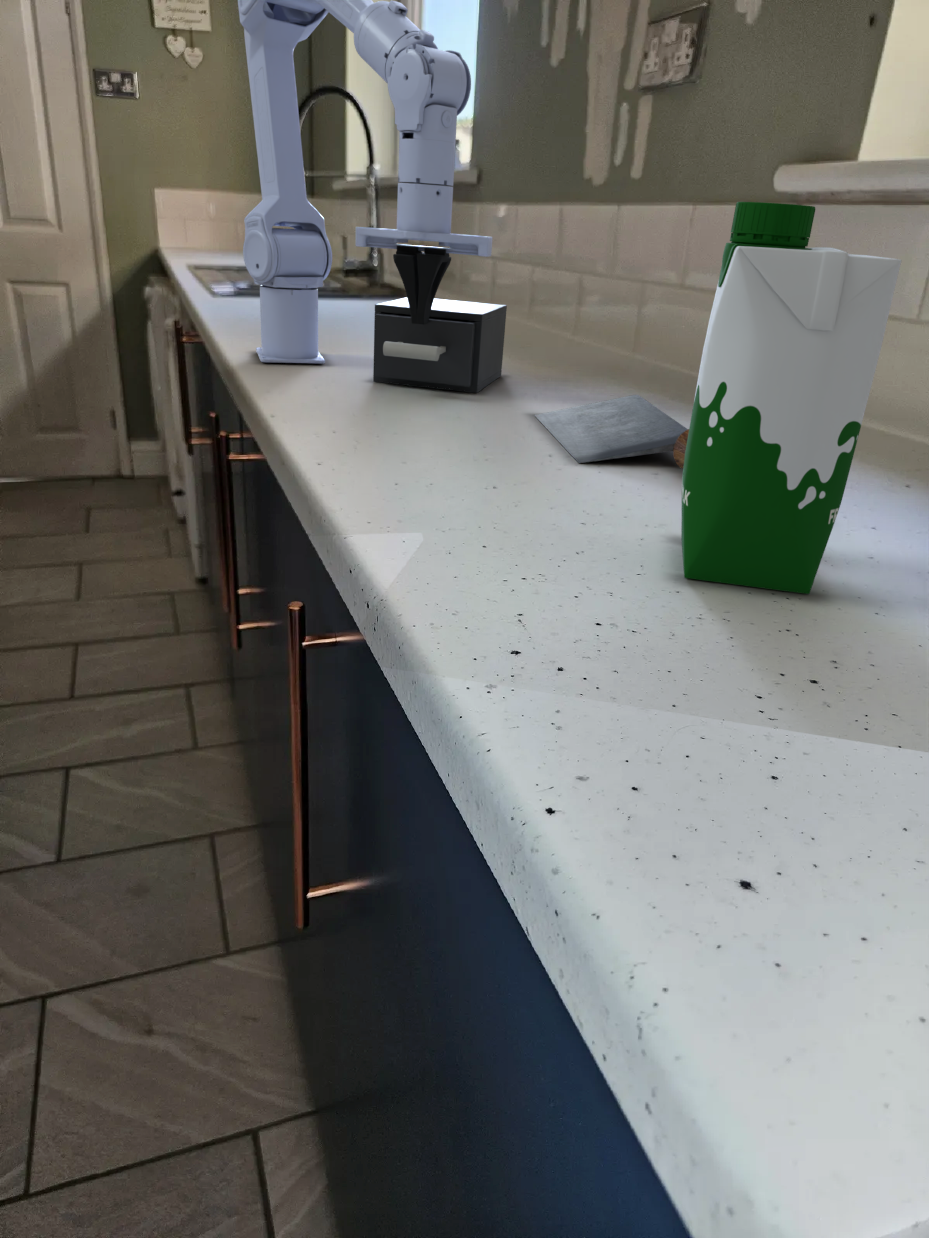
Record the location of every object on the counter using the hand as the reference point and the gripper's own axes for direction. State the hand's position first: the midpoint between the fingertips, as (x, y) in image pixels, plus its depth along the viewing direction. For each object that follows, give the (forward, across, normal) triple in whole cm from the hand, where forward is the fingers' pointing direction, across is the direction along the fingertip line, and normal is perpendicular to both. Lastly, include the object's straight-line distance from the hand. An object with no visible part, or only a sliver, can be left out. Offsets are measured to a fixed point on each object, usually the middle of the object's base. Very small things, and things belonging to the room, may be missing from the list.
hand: (420, 323), depth 95 cm
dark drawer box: (+6, 0, +5) cm, 8 cm away
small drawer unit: (+7, 0, +10) cm, 12 cm away
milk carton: (+8, +34, -43) cm, 56 cm away
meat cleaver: (+8, +26, -19) cm, 33 cm away
